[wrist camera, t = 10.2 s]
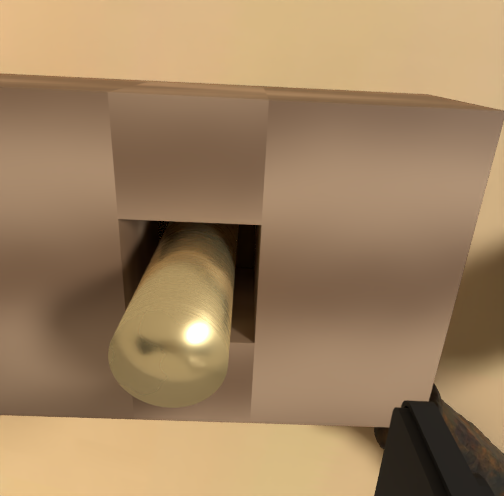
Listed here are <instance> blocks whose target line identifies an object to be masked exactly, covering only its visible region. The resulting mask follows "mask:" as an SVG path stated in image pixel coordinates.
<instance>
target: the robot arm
mask: <svg viewBox="0 0 504 496" xmlns="http://www.w3.org/2000/svg"><path fill="white" fill-rule="evenodd" d="M374 496H495V495H494V493H493V491H492V489H491V488H490V486H489V484H488V483H487V481H486V480H485V479H484V477H482V476H481V475H480V474H479V473H474V472H471V470H470V468H469V466H468V464H467V462H466V460H465V458H464V456H463V455H462V453H461V451H460V449H459V447H458V445H457V443H456V441H455V439H454V438H453V436H452V434H451V432H450V430H449V428H448V426H447V424H446V422H445V421H444V419H443V417H442V415H441V413H440V411H439V409H438V407H437V406H436V404H435V403H433V402H432V401H409V400H406V401H403V403H402V405H401V408H400V407H395V408H394V409H393V412H392V417H391V421H390V426H389V430H388V435H387V440H386V444H385V449H384V453H383V458H382V463H381V467H380V472H379V476H378V481H377V486H376V490H375V495H374Z"/></svg>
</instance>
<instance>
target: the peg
mask: <svg viewBox="0 0 504 496" xmlns="http://www.w3.org/2000/svg"><path fill="white" fill-rule="evenodd" d="M237 237H238V224H226V223H202V222H178V221H170V222H169V224H168V226H167V228H166V230H165V232H164V234H163V236H162V238H161V240H160V242H159V244H158V246H157V248H156V250H155V252H154V254H153V256H152V258H151V260H150V262H149V265H148V267H147V269H146V271H145V273H144V275H143V277H142V279H141V281H140V283H139V285H138V287H137V289H136V291H135V293H134V295H133V297H132V299H131V301H130V303H129V305H128V307H127V309H126V311H125V313H124V315H123V317H122V319H121V321H120V323H119V325H118V327H117V329H116V331H115V333H114V335H113V338H112V340H111V342H110V345H109V351H108V361H109V366H110V369H111V372H112V374H113V376H114V378H115V379H116V380H117V382H118V383H119V384H120V386H121V387H122V388H123V389H124V390H126V391H127V392H128V393H129V394H131V395H132V396H134V397H135V398H137V399H139V400H141V401H143V402H145V403H148V404H151V405H155V406H160V407H168V408H178V407H185V406H190V405H193V404H196V403H199V402H201V401H203V400H205V399H207V398H208V397H210V396H211V395H212V394H213V393H215V392H216V391H217V389H218V388H219V387H220V386H221V384H222V383H223V381H224V379H225V377H226V373H227V369H228V359H229V345H230V332H231V318H232V305H233V291H234V278H235V264H236V251H237Z"/></svg>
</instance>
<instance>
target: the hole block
mask: <svg viewBox="0 0 504 496" xmlns="http://www.w3.org/2000/svg"><path fill="white" fill-rule="evenodd" d="M503 121H504V111H503V110H498V109H493V108H489V107H484V106H479V105H475V104H470V103H465V102H461V101H456V100H451V99H447V98H442V97H437V96H433V95H428V94H408V93H387V92H367V91H346V90H326V89H305V88H284V87H264V86H243V85H223V84H202V83H182V82H161V81H141V80H120V79H99V78H79V77H58V76H38V75H17V74H0V415H17V416H48V417H79V418H111V419H142V420H173V421H204V422H236V423H267V424H298V425H330V426H361V427H389V426H390V421H391V417H392V412H393V409H394V408H395V407H400V408H401V405H402V403H403V401H406V400H409V401H429V398H430V394H431V391H432V387H433V383H434V379H435V376H436V372H437V368H438V365H439V361H440V357H441V353H442V350H443V346H444V342H445V338H446V335H447V331H448V327H449V323H450V320H451V316H452V312H453V308H454V305H455V301H456V297H457V293H458V290H459V286H460V282H461V278H462V275H463V271H464V267H465V264H466V260H467V256H468V252H469V249H470V245H471V241H472V237H473V234H474V230H475V226H476V222H477V219H478V215H479V211H480V207H481V204H482V200H483V196H484V192H485V189H486V185H487V181H488V177H489V174H490V170H491V166H492V162H493V159H494V155H495V151H496V148H497V144H498V140H499V136H500V133H501V129H502V125H503ZM158 221H178V222H202V223H226V224H250V225H256V232H255V251H254V269H251V268H235V278H234V291H233V305H232V318H231V332H230V345H229V359H228V369H227V373H226V377H225V379H224V381H223V383H222V384H221V386H220V387H219V388H218V389H217V391H216V392H215V393H213V394H212V395H211V396H210V397H208V398H207V399H205V400H203V401H201V402H199V403H196V404H193V405H190V406H185V407H178V408H168V407H160V406H155V405H151V404H148V403H145V402H143V401H141V400H139V399H137V398H135V397H134V396H132V395H131V394H129V393H128V392H127V391H126V390H124V389H123V388H122V387H121V386H120V384H119V383H118V382H117V380H116V379H115V378H114V376H113V374H112V372H111V369H110V366H109V361H108V351H109V345H110V342H111V340H112V338H113V335H114V333H115V331H116V329H117V327H118V325H119V323H120V321H121V319H122V317H123V315H124V313H125V311H126V309H127V307H128V305H129V303H130V301H131V299H132V297H133V295H134V293H135V291H136V289H137V287H138V285H139V283H140V281H141V279H142V277H143V275H144V273H145V271H146V269H147V267H148V265H149V262H150V260H151V258H152V256H153V254H154V252H155V250H156V248H157V246H158V244H159V235H158Z"/></svg>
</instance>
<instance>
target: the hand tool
mask: <svg viewBox="0 0 504 496" xmlns="http://www.w3.org/2000/svg"><path fill="white" fill-rule="evenodd" d="M429 401H432V402H433V403H435V404H436V406H437V407H438V409H439V411H440V413H441V415H442V417H443V419H444V421H445V422H446V424H447V426H448V428H449V430H450V432H451V434H452V436H453V438H454V439H455V441H456V443H457V445H458V447H459V449H460V451H461V453H462V455H463V456H464V458H465V460H466V462H467V464H468V466H469V468H470V470H471V472H474V473H479V474H480V475H481V476H482V477H484V479H485V480H486V481H487V483H488V484H489V486H490V488H491V489H492V491H493V493H494V495H495V496H504V454H503V453H502V452H501V451H500V450H499V449H498V448H497V447H496V446H495V445H493V444H492V443H491V442H490V440H489V439H488V438H487V437H485V436H484V435H483V433H482V432H481V431H480V430H479V429H478V428H477V427H476V426H474V425H473V424H472V423H471V422H469V421H467V420H466V419H465V418H464V417H463V416H462V415H460V414H458V413H456V412H455V411H454V410H453V409H452V408H451V407H450V406H449V405H447V404H446V403H445V402H444V401H443V400H442V399H441V397H440V394H439V391H438V389H437V388H436V386H435V384H434V383H433V387H432V391H431V394H430V398H429ZM388 430H389V427H374V433H375V436H376V439H377V442H378V443H379V445H380V447H381V448H383V449H385V444H386V440H387V435H388Z"/></svg>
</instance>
